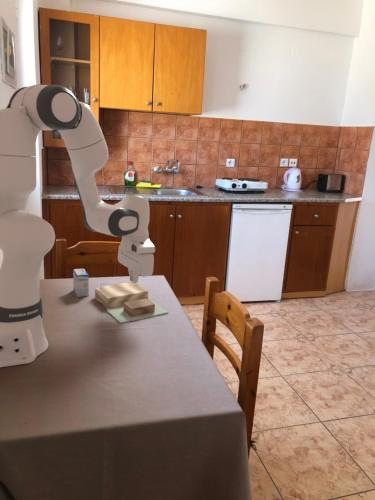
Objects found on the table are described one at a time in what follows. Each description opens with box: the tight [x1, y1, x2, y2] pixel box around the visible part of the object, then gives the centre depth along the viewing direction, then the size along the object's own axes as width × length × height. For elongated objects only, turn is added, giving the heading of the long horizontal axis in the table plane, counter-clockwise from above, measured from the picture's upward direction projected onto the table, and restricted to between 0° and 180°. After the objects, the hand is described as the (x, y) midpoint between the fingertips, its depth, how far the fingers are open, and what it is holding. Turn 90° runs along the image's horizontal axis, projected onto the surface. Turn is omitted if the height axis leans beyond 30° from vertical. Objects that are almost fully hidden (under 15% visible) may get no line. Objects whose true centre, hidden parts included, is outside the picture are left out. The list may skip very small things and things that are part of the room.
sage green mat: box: [105, 300, 169, 325], centre depth 144 cm, size 18×12×1 cm, turn 123°
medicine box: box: [72, 268, 90, 298], centre depth 158 cm, size 8×4×9 cm, turn 25°
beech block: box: [94, 281, 149, 309], centre depth 154 cm, size 16×12×4 cm
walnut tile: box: [123, 298, 155, 317], centre depth 143 cm, size 9×6×3 cm, turn 123°
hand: (133, 281), depth 142 cm, fingers closed
